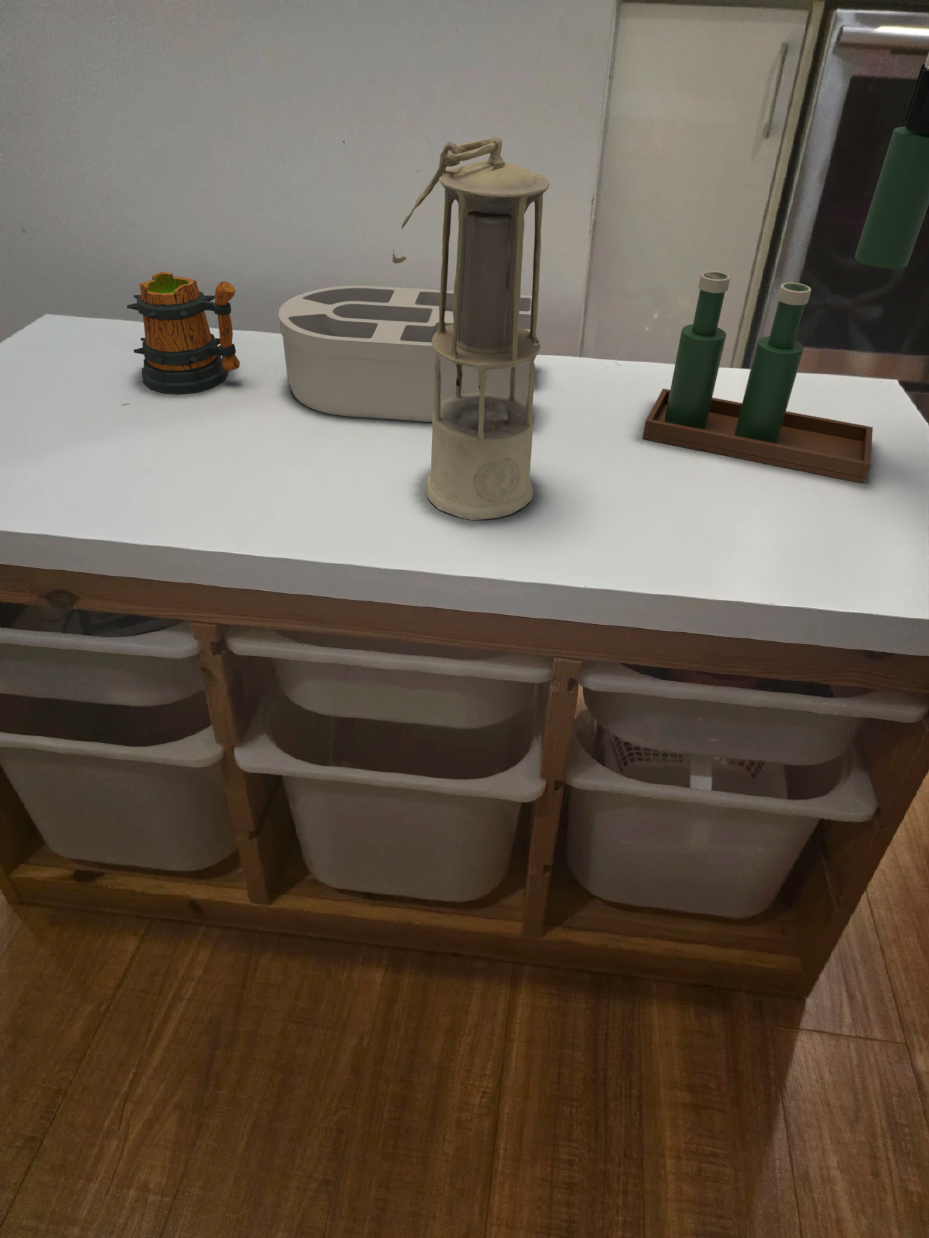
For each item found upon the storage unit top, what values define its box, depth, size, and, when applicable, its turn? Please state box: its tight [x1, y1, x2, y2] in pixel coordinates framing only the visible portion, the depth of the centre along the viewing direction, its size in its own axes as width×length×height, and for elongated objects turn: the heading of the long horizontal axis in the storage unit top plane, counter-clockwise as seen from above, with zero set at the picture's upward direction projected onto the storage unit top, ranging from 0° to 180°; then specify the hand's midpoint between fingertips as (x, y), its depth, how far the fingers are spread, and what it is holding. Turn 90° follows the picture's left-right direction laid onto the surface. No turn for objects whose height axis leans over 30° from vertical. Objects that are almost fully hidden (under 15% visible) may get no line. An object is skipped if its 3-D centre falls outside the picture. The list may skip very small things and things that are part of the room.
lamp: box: [391, 136, 550, 521], centre depth 72 cm, size 10×13×30 cm
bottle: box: [854, 54, 929, 270], centre depth 70 cm, size 4×4×16 cm
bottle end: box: [665, 270, 731, 429], centre depth 87 cm, size 4×4×16 cm
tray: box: [642, 388, 874, 484], centre depth 90 cm, size 22×9×2 cm, turn 68°
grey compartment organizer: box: [278, 284, 540, 423], centre depth 96 cm, size 17×28×9 cm, turn 84°
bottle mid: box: [735, 282, 812, 443], centre depth 85 cm, size 4×4×16 cm
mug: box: [126, 271, 241, 395], centre depth 96 cm, size 13×10×12 cm
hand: (926, 125), depth 68 cm, fingers closed on bottle, 2 cm apart
